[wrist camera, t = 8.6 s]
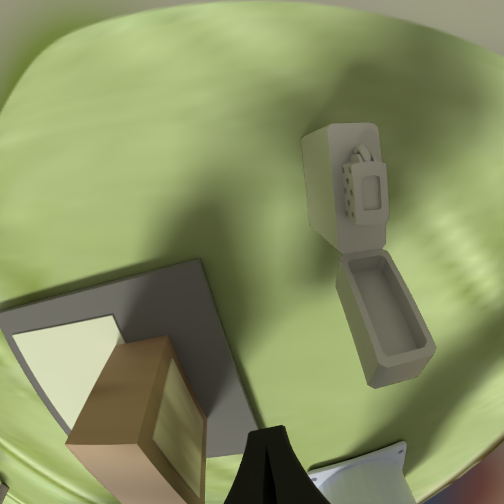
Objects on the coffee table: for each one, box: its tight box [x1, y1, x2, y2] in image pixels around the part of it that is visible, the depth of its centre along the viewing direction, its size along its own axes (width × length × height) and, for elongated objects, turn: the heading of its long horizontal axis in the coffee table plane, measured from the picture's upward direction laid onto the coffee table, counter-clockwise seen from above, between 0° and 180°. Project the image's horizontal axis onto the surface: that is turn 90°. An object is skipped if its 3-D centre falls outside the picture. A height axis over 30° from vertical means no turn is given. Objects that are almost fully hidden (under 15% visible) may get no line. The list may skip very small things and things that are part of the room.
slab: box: [65, 335, 207, 504], centre depth 12 cm, size 6×3×7 cm, turn 14°
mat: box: [0, 258, 259, 458], centre depth 16 cm, size 13×14×1 cm
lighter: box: [301, 123, 436, 389], centre depth 10 cm, size 7×2×8 cm, turn 7°
